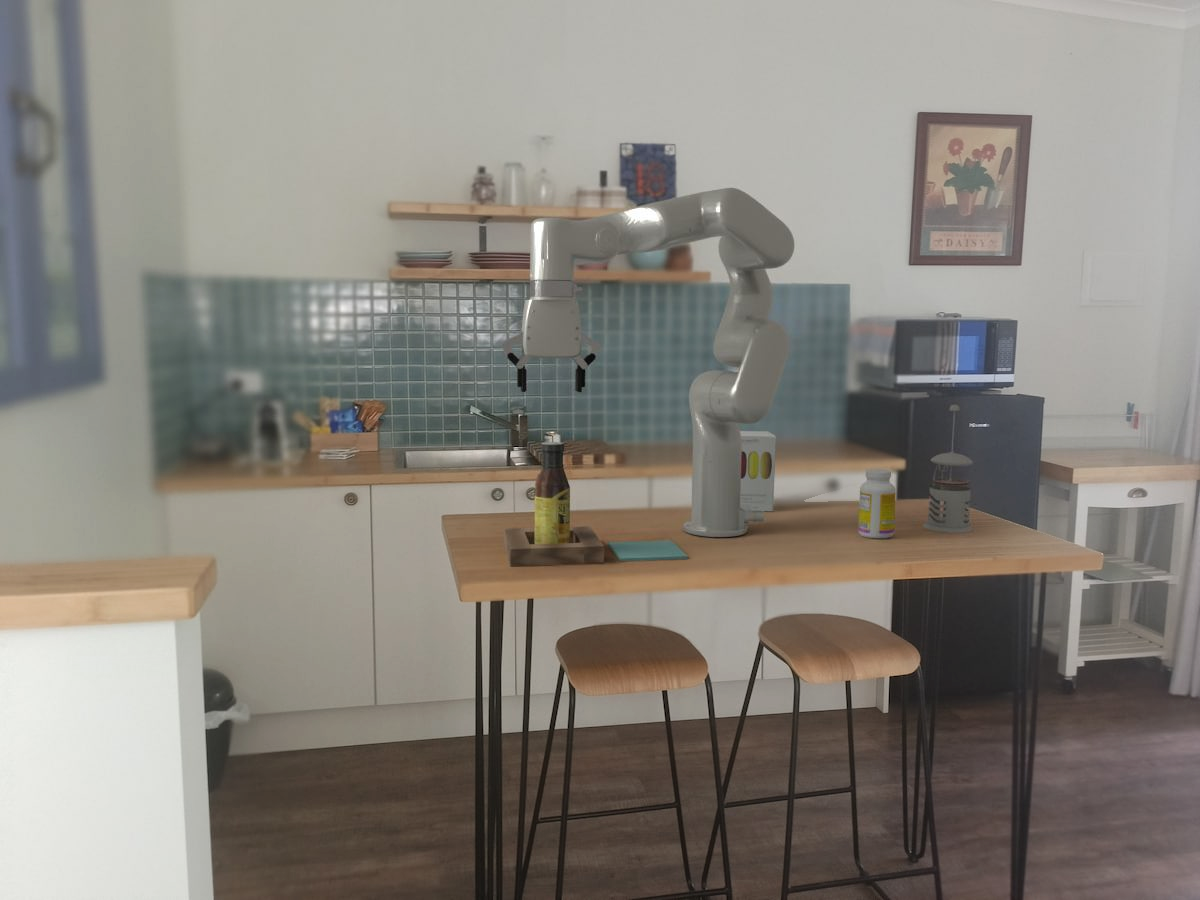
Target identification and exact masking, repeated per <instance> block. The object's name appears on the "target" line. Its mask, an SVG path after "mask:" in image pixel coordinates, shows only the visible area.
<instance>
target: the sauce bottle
mask: <svg viewBox="0 0 1200 900" xmlns="http://www.w3.org/2000/svg"><path fill="white" fill-rule="evenodd" d="M540 446H541V447H540V450H541V470H540V473H539V474H537V477H536V479H535V484H534V485H535V486H534V487H535V490H534V493H535V494H534V528H535V544H559V543H570V527H571V526H570V525H571V524H570V523H571V487H570V483H569V480H568V477H567V474H566V472H565V469H564V466H565V465H564V451H565V444H564V442H560V441H553V442H552V441H548V442H547V441H546V442H541V444H540Z"/></svg>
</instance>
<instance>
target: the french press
mask: <svg viewBox="0 0 1200 900" xmlns="http://www.w3.org/2000/svg"><path fill="white" fill-rule="evenodd" d="M949 411H951V412H952V411H953V418H952V419H953V420H952V421H953V423H952V435H951V436H952V437H951V451H950V452H945V453H940V454H936V455H935V456H933V457H932V458H930V461H931V462H932V463H933V464H935V465H936V467H935V470H934V471H933V478H932V479H931V482H932V485H930V486H929V494H930V495H928V496H929V497H928V499H929V501H928V506H929V507H928V513H927V514H928V515H927V516H928V517H927V521H926V522H925V523H924V524H922V528H924V529H925V530H926V529H927V530H929V531H935V532H939V533H946V534H947V533H948V534H949V533H952V534H962V533H963V534H964V533H971V532H973V531H974V528H973V527H972V526H971V525H970V524H969V523H970V521H969V519H970V509H971V508H970V506H971V493H972V491H971V488H970V487H967V486H966V485H968V484H969V483H970V481H969V480H968V479H965V478H959V477H957V478H956V477H952V471H953V468H952V467H953V466H954V467H966V466H967V467H968V466H972V465H973V464H974V461H973V460H972V459H970V458H969V457H968V456H966V455H963V454H960V453H957V452H954V433H955V420H956V417H955V416H956V412H959V411H960V405H959V404H952V405H950V407H949ZM941 465H942V466H943V469H941ZM949 466H950V469H949ZM937 470H939V471H940V472H941V476H938V477H936V473H937ZM948 470H949V472H950V473H949V477H948V476H947V477H946V476H945V477H944V472H945V473H946V472H947V471H948ZM943 485H944V487H943ZM941 502H943V504H941ZM940 509H942V510H940ZM940 515H942V516H940Z"/></svg>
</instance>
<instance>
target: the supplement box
mask: <svg viewBox="0 0 1200 900" xmlns="http://www.w3.org/2000/svg"><path fill="white" fill-rule="evenodd" d="M740 434H741V439H742V456H741V493H740V508H742V509H744V510H745V511H753V512H763V513H766V512H765V511H773V512H774V497H775V496H774V495H775V494H774V493H775V492H774V491H775V469H776V452H777V450H776V446H777V436H776V434H773V433H771V432H770V431H768V430H763V431H762V430H761V431H759V430H757V431H755V430H754V431H753V430H740Z"/></svg>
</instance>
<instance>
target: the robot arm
mask: <svg viewBox="0 0 1200 900" xmlns="http://www.w3.org/2000/svg"><path fill="white" fill-rule="evenodd" d="M529 232H530V238H529V239H530V241H529V242H530V243H529V245H530V246H529V252H530V253H529V255H530V256H529V262H530V263H529V273H530V274H529V278H530V280H529V299H525V301H524V306H523V313H522V321H521V323H522V325H521V332H520V333H518V334H516V335H514V336H512V337H510V338H509V339H506V340H504V341H502V342H501V344H500V346H501V348H502V350H503V352H504V354H505V356H506V358H507V359H508V360H509V361H510V362H511V363H512V364H513V365H514V366H515V367H516V368H517V369H516V373H517V374H516V375H517V376H516V380H517V381H516V385H517V388H520V392H522V393H526V392H527V369H526V364H527V363H528V362H529V361H530V359H531V358H534V359H536V358H537V359H572V360H573V361H574V363H575V364H576V365H577V366H576V368H575V377H574V378H575V379H574V381H575V385H574V387H575V391H576V392H577V393H582V390H583V388H585V387H586V370H587V368H588V367H589V366H590V365H591V364H592V363H593V362H594V361H595V360H596V358H597V356H598V354H599V352H600V351H601V348H602V344H601V343H600V342H598V341H596V340H595V339H592V338H591V337H589V336H587V335H585V334H583V333H582V328H581V327H582V324H581V316H580V308H579V303H578V300H575V299H574V298H575V296H576V295H578V294H583V285H578V284H576V283H575V279H574V278H575V266H583V265H594V264H595V265H596V264H603V263H607V262H609V261H612V260H613V259H615V257H617V256H619V255H626V254H637V253H639V254H640V253H641V254H642V253H651V252H656V251H663V250H666V249H670V248H674V247H678V246H681V245H685V244H690V243H694V242H698V241H702V240H705V239H706V240H707V239H710V238H716V237H717V238H718V237H719V240H718V241H719V242H718V255H719V258H720V261H721V263H722V264H723V266H724V269H725V271H726V273H727V275H728V279H729V284H730V287H729V288H730V290H729V295H728V296H729V297H728V299H727V302H726V306H725V308H724V312H723V315H722V317H721V320H720V323H719V326H718V329H717V332H716V335H715V338H714V342H713V346H712V351H713V356H714V357H715V359H716V360H717V361H718V362H719V363H720V364H722V365H724V366H727V367H732V368H738V370H737V372H736V371H733V370H732V371H731V370H714V369H713V370H708V371H704V372H702V373H700V374H699V375H698V376H696V377H695V378H694V380H693V382H692V383H691V385H690V387H689V392H688V404H689V411H690V414H691V415H690V416H691V422H692V465H691V467H692V469H691V470H692V472H691V515H690V516H691V517H690V519H691V520H688V521H685V522H684V523H683V526H682V527H683V528H682V529H683V531H685V533H687V534H690V535H693V536H699V537H707V538H728V537H729V538H732V537H733V538H734V537H738V536H742V535H745V534H747V532H748V525H747V524H749V522H754V523H757V522H765V521H764V520H765V514H764V513H765V512H753V511H745V510H744V509H742V508H740V493H741V456H742V439H741V434H740V431H741V429H740V427H739V424H744V425H749V424H750V425H751V424H757V423H758V422H760V421H761V420H762V419H763V418H764V417H765V416H766V415H767V414H768V411H770V408H771V406H772V404H773V400H774V398H775V396H776V394H777V393H776V392H777V390H778V387H779V384H780V381H781V379H782V376H783V372H784V369H785V367H786V364H787V361H788V357H789V351H790V345H789V344H790V341H789V336H788V333H787V330H786V329H785V328H784V326H783V325H782V324H781V323H779V321H776V320H773V319H770V318H769V316H770V313H771V310H772V306H773V301H774V291H773V286H772V282H771V281H770V278H769V275H768V273H767V271H766V270H768V269H769V270H771V269H777V268H781V267H782V266H784V265H786V264H787V263H788V262H789V261H790V260H791V259H792V257H793V255H794V252H795V240H794V235H793V232H792V231H791V230H790V228H789V226H787V225H786V223H784V221H782V220H781V219H780V218H779V217H777V215H775V214H774V213H772V211H770V210H769V209H768V208H766V207H765V206H764V205H763V204H761V203H760V202H759V201H758V200H756V199H755V198H754V197H752V196H751V195H750V194H748V193H746V192H745V191H743V190H742V189H739V188H736V187H725V188H719V189H712V190H708V191H701V192H697V193H691V194H687V195H683V196H678V197H673V198H669V199H665V200H664V199H663V200H660V201H654V202H651V203H646V204H643V205H639V206H634V207H631V208H628V209H625V210H622V211H618V212H613V213H609V214H605V215H599V216H595V217H592V218H587V219H582V220H572V219H568V218H562V217H539V218H536V219H534V220H533V221H532V222H531V224H530V231H529ZM518 343H521V344H520V345H521V346H520V347H521V352H522V355H521V356H520V357H519V358H518V357H517V356H516V355H515V354H514V352H513V350H512V347H513V346H514V345H516V344H518ZM582 343H583V344H584V345H586V346H589V347H590V351H589V353H588V354H587V355H586V356H585V357H584V358H583V357H582V356H581V353H582Z"/></svg>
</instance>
